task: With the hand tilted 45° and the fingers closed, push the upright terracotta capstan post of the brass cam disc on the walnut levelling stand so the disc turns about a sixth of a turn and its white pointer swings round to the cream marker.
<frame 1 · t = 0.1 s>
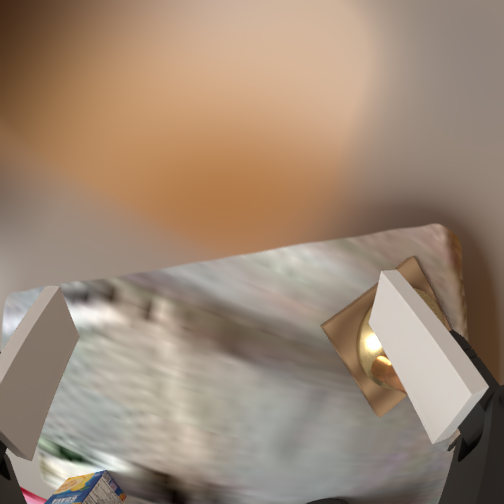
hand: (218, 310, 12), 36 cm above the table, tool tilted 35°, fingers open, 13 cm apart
cam disc: (423, 343, 39), point 9 cm above the table, hinge at 0.0°
levelling stand: (395, 337, 48), on the table
beverage box: (96, 487, 40), on the table
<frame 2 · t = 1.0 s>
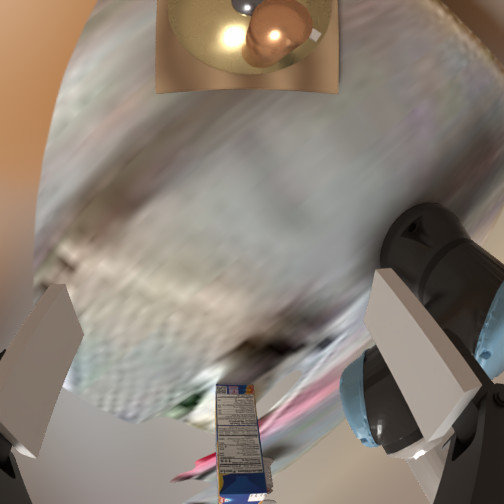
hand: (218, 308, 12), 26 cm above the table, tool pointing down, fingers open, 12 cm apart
french press: (256, 461, 71), on the table
levelling stand: (247, 11, 27), on the table
beverage box: (232, 400, 56), on the table
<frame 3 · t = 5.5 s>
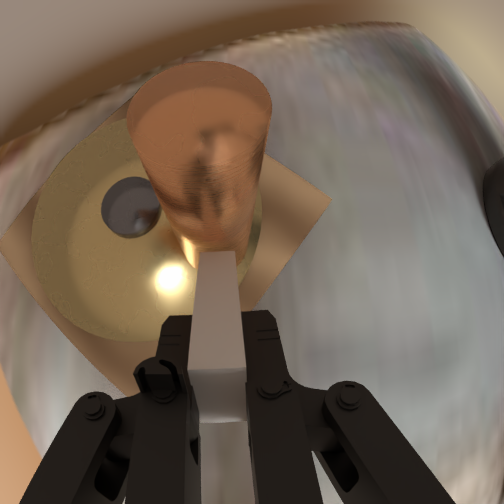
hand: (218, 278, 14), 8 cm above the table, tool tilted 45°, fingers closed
cam disc: (106, 169, 14), point 9 cm above the table, hinge at 5.3°, touching gripper
levelling stand: (147, 230, 23), on the table
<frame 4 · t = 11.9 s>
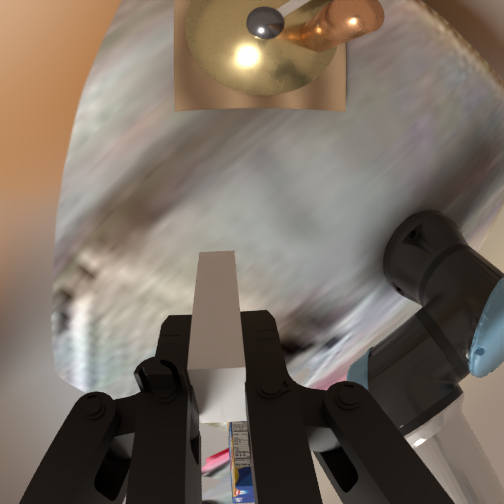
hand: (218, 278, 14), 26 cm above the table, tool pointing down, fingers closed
cam disc: (271, 11, 22), point 9 cm above the table, hinge at 70.4°
levelling stand: (260, 31, 30), on the table
beverage box: (244, 397, 59), on the table
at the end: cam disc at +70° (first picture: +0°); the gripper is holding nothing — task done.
